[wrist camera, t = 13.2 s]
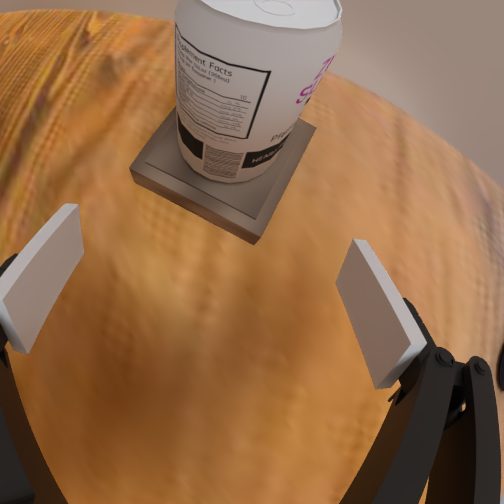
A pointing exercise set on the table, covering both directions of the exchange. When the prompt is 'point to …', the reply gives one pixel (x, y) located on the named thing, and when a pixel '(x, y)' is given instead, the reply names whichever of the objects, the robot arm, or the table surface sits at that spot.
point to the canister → (502, 372)
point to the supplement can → (247, 78)
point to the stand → (216, 192)
